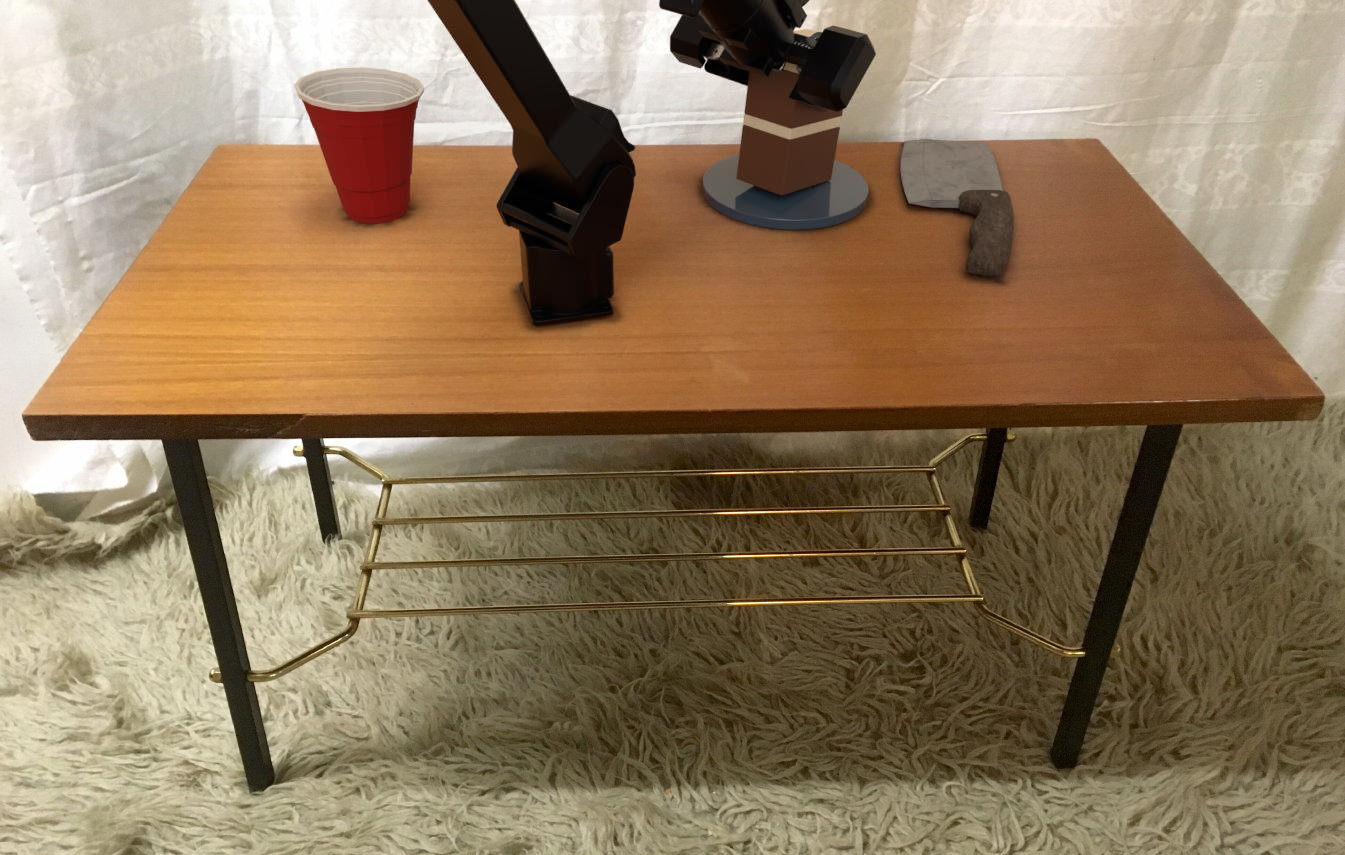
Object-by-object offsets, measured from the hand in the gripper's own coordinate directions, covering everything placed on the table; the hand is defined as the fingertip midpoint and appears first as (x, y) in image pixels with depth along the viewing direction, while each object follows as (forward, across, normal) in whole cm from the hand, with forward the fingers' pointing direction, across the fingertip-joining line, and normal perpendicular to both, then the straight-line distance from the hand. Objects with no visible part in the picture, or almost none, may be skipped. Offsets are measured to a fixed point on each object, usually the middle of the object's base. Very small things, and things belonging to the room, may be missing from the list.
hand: (801, 98), depth 99 cm
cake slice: (+4, 0, +6) cm, 8 cm away
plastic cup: (-15, +25, +28) cm, 41 cm away
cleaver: (+12, -14, +1) cm, 18 cm away
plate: (+5, 0, +7) cm, 9 cm away
